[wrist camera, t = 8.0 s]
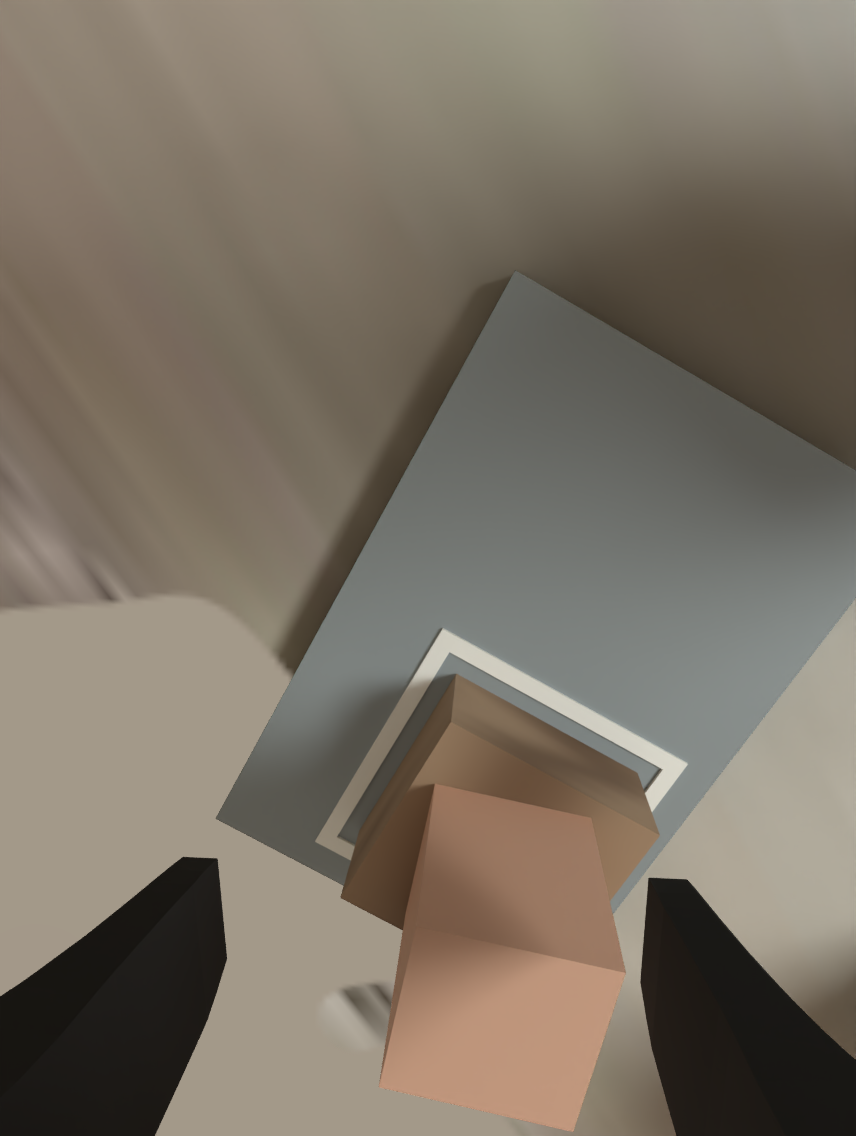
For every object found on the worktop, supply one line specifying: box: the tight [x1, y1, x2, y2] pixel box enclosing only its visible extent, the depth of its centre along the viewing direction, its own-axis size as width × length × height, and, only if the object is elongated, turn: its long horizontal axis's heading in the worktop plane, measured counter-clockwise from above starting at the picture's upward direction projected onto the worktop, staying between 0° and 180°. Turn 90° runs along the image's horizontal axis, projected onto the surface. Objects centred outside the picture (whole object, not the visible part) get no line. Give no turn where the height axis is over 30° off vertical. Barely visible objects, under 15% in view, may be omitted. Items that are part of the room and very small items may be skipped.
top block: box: [379, 784, 626, 1132], centre depth 17 cm, size 4×4×5 cm
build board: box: [216, 270, 856, 913], centre depth 22 cm, size 12×18×1 cm, turn 151°
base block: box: [341, 674, 660, 930], centre depth 21 cm, size 6×6×3 cm
